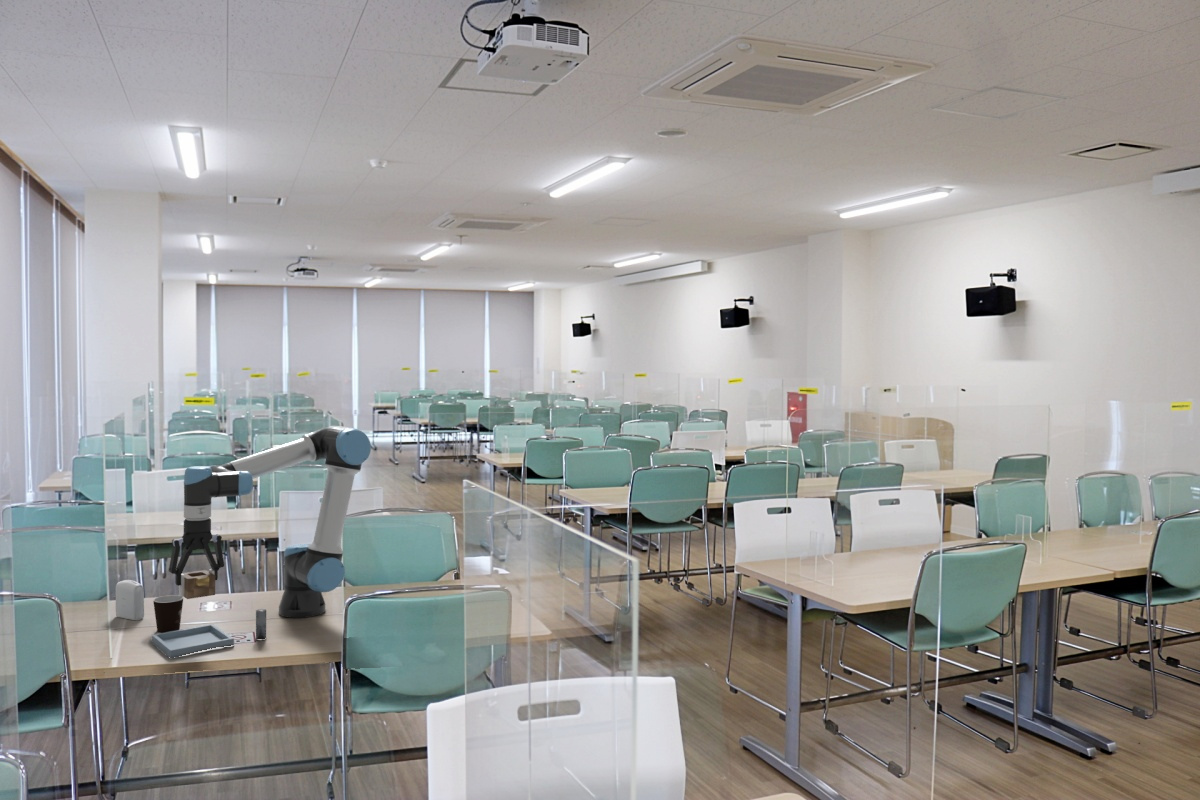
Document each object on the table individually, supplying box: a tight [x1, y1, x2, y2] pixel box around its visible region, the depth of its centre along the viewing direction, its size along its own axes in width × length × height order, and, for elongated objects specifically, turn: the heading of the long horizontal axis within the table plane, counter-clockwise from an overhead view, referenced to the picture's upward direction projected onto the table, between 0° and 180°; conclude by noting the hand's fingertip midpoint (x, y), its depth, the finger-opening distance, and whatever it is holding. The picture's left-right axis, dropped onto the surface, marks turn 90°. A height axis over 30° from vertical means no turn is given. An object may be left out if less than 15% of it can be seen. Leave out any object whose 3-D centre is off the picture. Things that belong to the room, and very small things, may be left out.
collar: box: [177, 569, 216, 600], centre depth 275 cm, size 8×10×6 cm
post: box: [255, 608, 267, 640], centre depth 283 cm, size 3×3×9 cm
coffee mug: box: [152, 594, 184, 634], centre depth 291 cm, size 12×9×10 cm
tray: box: [151, 623, 235, 659], centre depth 277 cm, size 18×18×2 cm
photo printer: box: [114, 579, 145, 621], centre depth 301 cm, size 10×4×12 cm, turn 63°
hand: (196, 593), depth 276 cm, fingers closed on collar, 8 cm apart
